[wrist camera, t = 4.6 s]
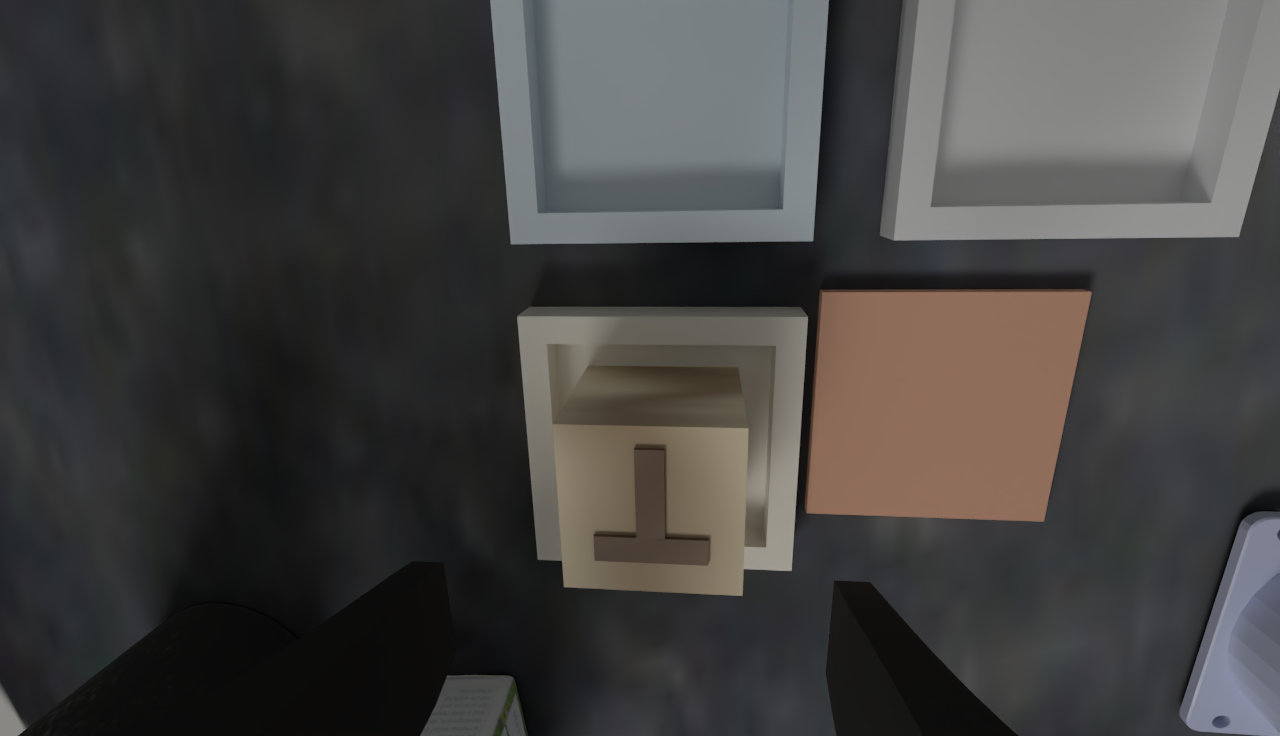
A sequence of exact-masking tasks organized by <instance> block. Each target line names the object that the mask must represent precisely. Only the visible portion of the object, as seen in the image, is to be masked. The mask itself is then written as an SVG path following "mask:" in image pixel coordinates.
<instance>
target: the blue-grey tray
mask: <svg viewBox="0 0 1280 736" xmlns="http://www.w3.org/2000/svg"><path fill="white" fill-rule="evenodd" d="M490 4H491V15H492V27H493V39H494V51H495V62H496V74H497V86H498V98H499V110H500V121H501V133H502V145H503V157H504V169H505V180H506V192H507V204H508V216H509V227H510V239H511V244H586V243H684V242H782V241H813V235H814V220H815V205H816V189H817V174H818V159H819V143H820V128H821V113H822V98H823V82H824V67H825V52H826V36H827V21H828V6H829V0H490Z"/></svg>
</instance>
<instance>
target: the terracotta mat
mask: <svg viewBox="0 0 1280 736" xmlns="http://www.w3.org/2000/svg"><path fill="white" fill-rule="evenodd" d="M1091 293H1092V292H1091V291H1088V290H1084V289H883V290H820V294H819V309H818V323H817V337H816V351H815V365H814V380H813V394H812V408H811V422H810V436H809V451H808V465H807V479H806V493H805V510H806V513H814V514H843V515H871V516H900V517H929V518H957V519H986V520H1015V521H1043V522H1044V518H1045V513H1046V509H1047V504H1048V499H1049V494H1050V489H1051V485H1052V480H1053V475H1054V470H1055V466H1056V461H1057V456H1058V451H1059V446H1060V442H1061V437H1062V432H1063V427H1064V423H1065V418H1066V413H1067V408H1068V403H1069V399H1070V394H1071V389H1072V384H1073V379H1074V375H1075V370H1076V365H1077V360H1078V356H1079V351H1080V346H1081V341H1082V336H1083V332H1084V327H1085V322H1086V317H1087V313H1088V308H1089V303H1090V298H1091Z"/></svg>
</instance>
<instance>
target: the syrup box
mask: <svg viewBox="0 0 1280 736" xmlns="http://www.w3.org/2000/svg"><path fill="white" fill-rule="evenodd" d="M420 736H528V733H527V729H526V725H525V721H524V717H523V712H522V708H521V704H520V700H519V695H518V690H517V687H516V684H515V680H514V678H513V677H511V676H506V675H458V676H447V677H446V680H445V683H444V685H443V688H442V690H441V693H440V696H439V698H438V701H437V703H436V706H435V708H434V710H433V712H432V714H431V716H430V718H429V720H428V722H427V724H426V726H425V728H424V730H423V732H422V733H421V735H420Z"/></svg>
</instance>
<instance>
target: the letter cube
mask: <svg viewBox="0 0 1280 736" xmlns="http://www.w3.org/2000/svg"><path fill="white" fill-rule="evenodd" d="M552 425H553V439H554V453H555V467H556V482H557V496H558V510H559V524H560V538H561V552H562V567H563V581H564V587H571V588H591V589H611V590H632V591H652V592H672V593H693V594H713V595H733V596H743V570H744V542H745V515H746V488H747V461H748V434H749V427H748V421H747V416H746V410H745V404H744V398H743V392H742V387H741V381H740V375H739V369H738V367H666V366H587V368H586V370H585V371H584V373H583V374H582V376H581V378H580V379H579V381H578V383H577V384H576V386H575V388H574V389H573V391H572V393H571V394H570V396H569V398H568V399H567V401H566V403H565V404H564V406H563V408H562V409H561V411H560V413H559V414H558V416H557V418H556V419H555V421H554V422H553V424H552Z"/></svg>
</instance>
